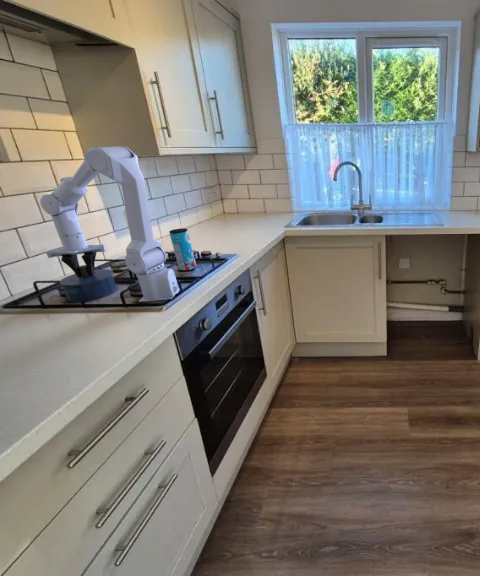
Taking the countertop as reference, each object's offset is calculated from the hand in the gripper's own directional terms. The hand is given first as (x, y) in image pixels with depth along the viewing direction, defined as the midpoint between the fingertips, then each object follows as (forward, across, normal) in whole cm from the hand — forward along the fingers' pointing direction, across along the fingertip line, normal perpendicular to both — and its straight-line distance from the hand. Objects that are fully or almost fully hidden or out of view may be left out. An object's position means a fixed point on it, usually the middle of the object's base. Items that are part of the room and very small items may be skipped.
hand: (86, 275), depth 114 cm
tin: (+6, 0, 0) cm, 6 cm away
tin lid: (+1, 0, 0) cm, 1 cm away
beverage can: (+6, +27, +12) cm, 30 cm away
